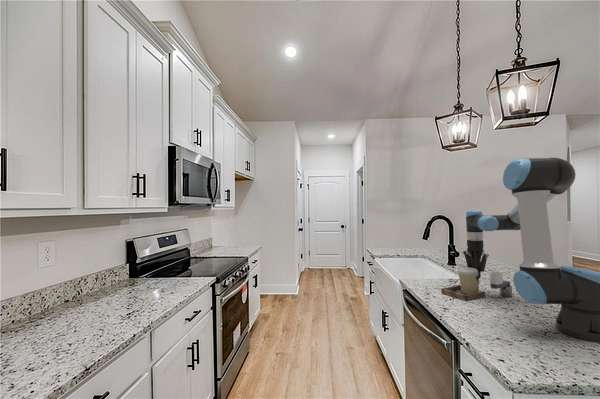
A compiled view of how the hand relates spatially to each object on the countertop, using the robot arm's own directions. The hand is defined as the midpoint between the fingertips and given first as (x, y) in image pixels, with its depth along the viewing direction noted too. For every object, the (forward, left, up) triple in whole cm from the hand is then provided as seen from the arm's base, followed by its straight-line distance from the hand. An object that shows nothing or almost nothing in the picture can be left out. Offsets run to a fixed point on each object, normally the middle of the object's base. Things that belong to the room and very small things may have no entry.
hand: (476, 283), depth 154 cm
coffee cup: (0, +5, -4) cm, 6 cm away
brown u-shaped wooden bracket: (0, +11, -4) cm, 12 cm away
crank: (-11, -2, +1) cm, 11 cm away
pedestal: (-11, -6, -4) cm, 13 cm away
